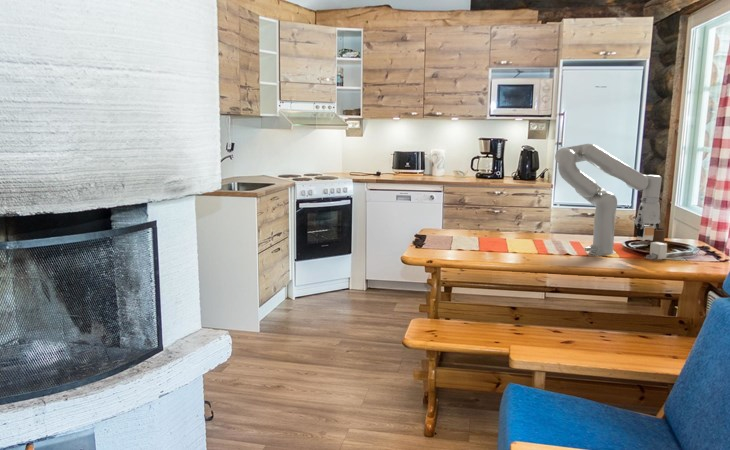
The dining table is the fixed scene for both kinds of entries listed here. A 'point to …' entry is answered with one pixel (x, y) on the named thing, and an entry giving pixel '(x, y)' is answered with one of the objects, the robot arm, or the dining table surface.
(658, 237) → the mug
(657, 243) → the white block
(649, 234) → the white and orange block
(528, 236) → the dining table surface
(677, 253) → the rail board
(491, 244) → the dining table surface
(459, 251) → the dining table surface
